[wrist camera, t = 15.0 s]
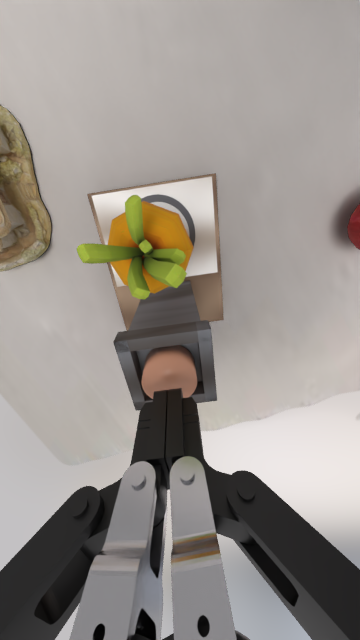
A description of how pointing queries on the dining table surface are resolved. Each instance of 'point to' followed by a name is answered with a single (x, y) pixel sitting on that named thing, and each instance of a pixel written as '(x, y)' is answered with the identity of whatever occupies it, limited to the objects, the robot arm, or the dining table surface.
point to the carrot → (144, 248)
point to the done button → (169, 371)
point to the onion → (355, 227)
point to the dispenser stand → (170, 303)
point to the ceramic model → (19, 199)
